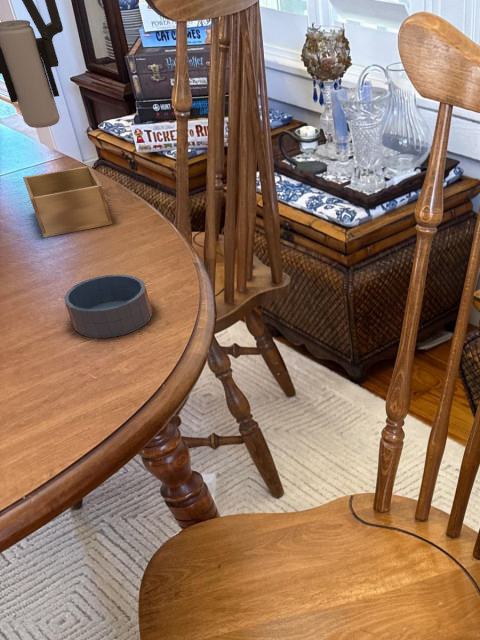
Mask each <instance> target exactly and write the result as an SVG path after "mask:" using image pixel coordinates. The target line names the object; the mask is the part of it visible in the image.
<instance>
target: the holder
mask: <svg viewBox="0 0 480 640" xmlns="http://www.w3.org/2000/svg"><path fill="white" fill-rule="evenodd" d="M22 179H23V182H24V186H25V188H26V191H27V194H28V197H29V199H30V202H31V205H32V208H33V211H34V214H35V216H36V220H37V222H38V225H39V228H40V230H41V233H42V237H43V238H49V237H54V236H60V235H63V234H70V233H74V232H80V231H84V230H89V229H94V228H99V227H104V226H109V225H113V221H112V218H111V214H110V210H109V206H108V202H107V200H106V196H105V193H104V189H103V185H102V184H101V182H100V181H99V179H98V177H97V175H96V173H95V172H94V169H93V167H92V166H91V165H87V166H86V165H85V166H80V167H74V168H69V169H64V170H57V171H52V172H45V173H40V174H35V175H29V176H23V177H22Z"/></svg>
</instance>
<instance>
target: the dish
mask: <svg viewBox="0 0 480 640" xmlns="http://www.w3.org/2000/svg"><path fill="white" fill-rule="evenodd" d="M63 301H64V304H65V307H66V310H67V312H68V316H69V319H70V322H71V324H72V326H73V328H74V330H75V332H77V333H78V334H80V335H82V336H84V337H87V338H94V339H107V338H115V337H120V336H124V335H127V334H130V333H132V332H133V333H134V332H136V331H137V330H139V329H142V327H144V326H145V325H147V324H148V322H149V321H150V320H151V318H152V316H153V309H152V305H151V301H150V297H149V294H148V291H147V287H146V284H145V282H144V281H143V280H141V278H139V277H137V276H133V275H130V274H105V275H100V276H96V277H95V276H94V277H91V278H89V279H85V280H83V281H81V282H79V283H76V284H74V285H73V286H72V287H70V288H69V289H68V291H66V293H65V295H64V296H63Z"/></svg>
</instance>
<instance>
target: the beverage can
mask: <svg viewBox="0 0 480 640" xmlns="http://www.w3.org/2000/svg"><path fill="white" fill-rule="evenodd" d="M36 38H37V37H36V34H35V30H34V28H33V26H31V21H30V20H26V19H14V20H13V19H12V20H6V21H1V22H0V51H1V54H2V57H3V60H4V63H5V66H6V69H7V71H8V74H9V77H10V80H11V83H12V86H13V89H14V92H15V95H16V98H17V104H18V107H19V110H20V113H21V116H22V119H23V123H25V125H27V126H28V127H30V128H33V129H35V128H36V129H41V128H48V127H53V126H55V125H57V124H58V123H59V122H60V113H59V110H58V107H57V104H56V101H55V97H54V95H53V92H52V89H51V86H50V83H49V79H48V76H47V73H46V69H45V66H44V63H43V60H42V56H41V53H40V50H39V46H38V43H37V40H36Z"/></svg>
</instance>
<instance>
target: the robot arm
mask: <svg viewBox="0 0 480 640" xmlns="http://www.w3.org/2000/svg"><path fill="white" fill-rule="evenodd" d="M21 2H22V3H23V6H24V7H25V9H26V12H27V13H28V14H29V17H30V19H31V20H32V22H33V24H34V26H35V28H36V29H37V31H38V34H39V35H40V37H36V40H37V43H38V46H39V50H40V53H41V57H42V60H43V63H44V67H45V70H46V74H47V77H48V80H49V84H50V87H51V90H52V94H53V97H54V98H57V97H60V92H59V88H58V87H57V83H56V80H55V76H54V73H53V70H52V68H56V67H59V58H58V56H57V53H56V49H55V46H54V42H53V39H54V37H55V36H56V35H58V34H60V33H62V32H63V31H64V26H63V23H62V20H61V16H60V12H59V9H58V6H57V2H56V0H44V3H45V6H46V9H47V14H48V16H49V19H50V21H49V22H48V23H46V22H45V20H44V18H43V16H42V14H41V13H40V11H39V9H38V7H37V5H36V3H35V2H34V0H21ZM0 75H1V76H2V79H3V82H4V84H5V88H6V90H7V91H6V92H7V93H8V97H9V100H10V102H11V103H18V101H17V98H16V95H15V92H14V89H13V86H12V83H11V80H10V77H9V74H8V71H7V69H6V66H5V63H4V60H3V57H2V54H1V51H0Z"/></svg>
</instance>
